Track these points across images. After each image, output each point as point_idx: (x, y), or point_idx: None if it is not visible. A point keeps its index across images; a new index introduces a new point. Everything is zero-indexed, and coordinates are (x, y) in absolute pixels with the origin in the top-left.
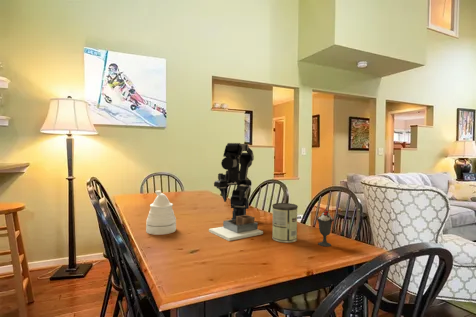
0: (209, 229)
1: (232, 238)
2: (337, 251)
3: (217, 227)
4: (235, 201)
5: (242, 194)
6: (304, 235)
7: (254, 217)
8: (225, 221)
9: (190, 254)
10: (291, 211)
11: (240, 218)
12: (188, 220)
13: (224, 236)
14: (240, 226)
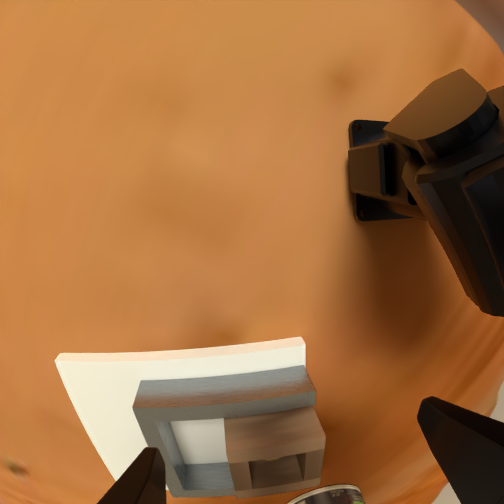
0: (57, 366)
1: None
2: None
3: (106, 362)
4: (443, 235)
5: (451, 483)
6: (397, 484)
7: (318, 484)
8: (140, 425)
9: (12, 475)
10: None
11: (232, 476)
12: (45, 35)
13: (108, 467)
14: (192, 493)
